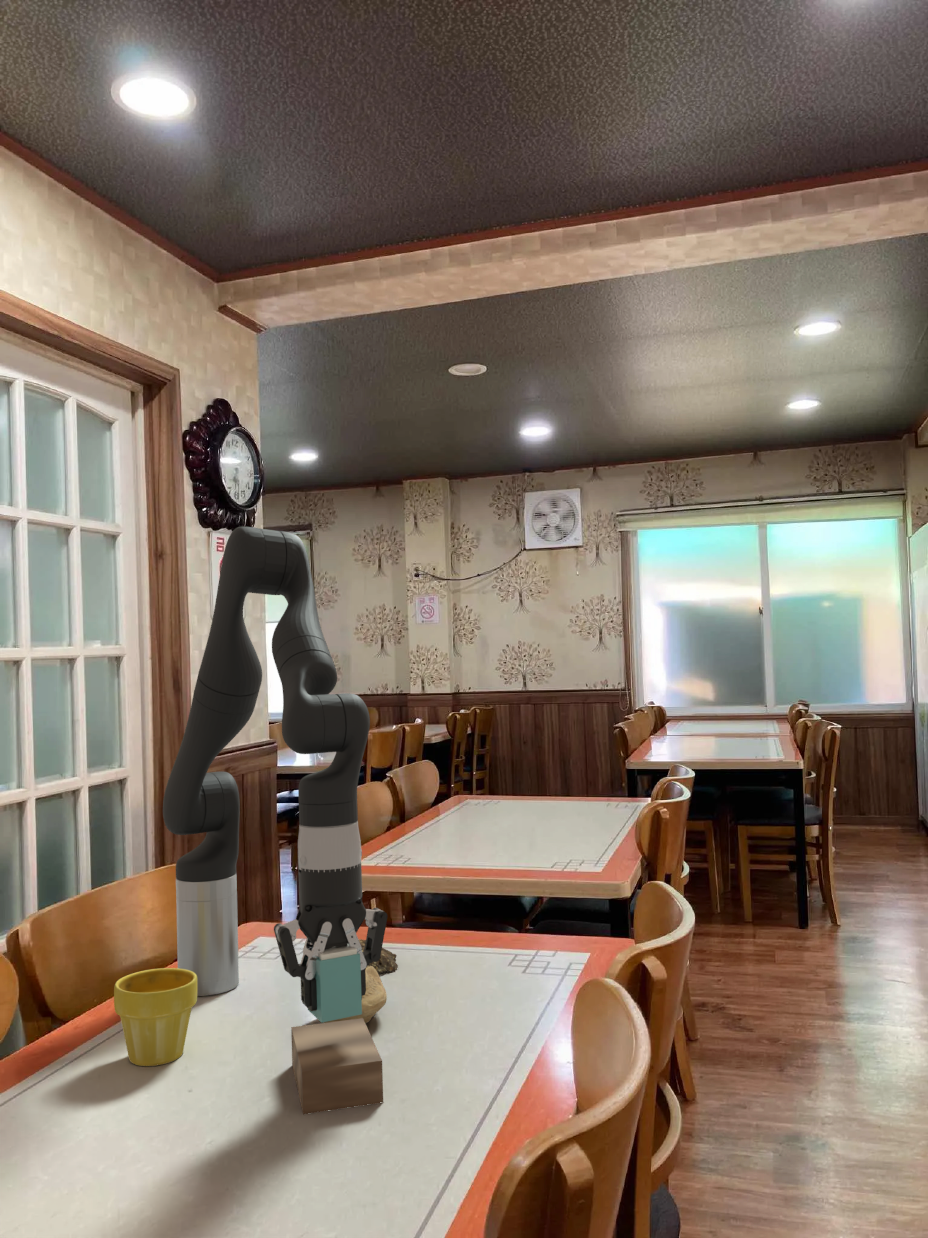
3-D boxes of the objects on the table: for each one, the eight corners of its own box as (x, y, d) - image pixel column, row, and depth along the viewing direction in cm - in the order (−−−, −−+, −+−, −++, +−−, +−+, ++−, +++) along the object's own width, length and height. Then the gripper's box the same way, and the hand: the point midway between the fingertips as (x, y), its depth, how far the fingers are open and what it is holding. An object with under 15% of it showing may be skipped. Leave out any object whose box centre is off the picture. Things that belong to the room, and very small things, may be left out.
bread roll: (305, 974, 159) (304, 943, 159) (355, 954, 169) (354, 924, 170) (364, 987, 152) (364, 954, 152) (413, 965, 162) (413, 934, 162)
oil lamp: (396, 1000, 144) (395, 945, 145) (379, 1040, 129) (377, 978, 130) (323, 1001, 145) (322, 946, 146) (297, 1040, 130) (296, 979, 131)
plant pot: (214, 1045, 129) (213, 970, 130) (166, 1077, 120) (165, 996, 120) (148, 1037, 133) (147, 964, 133) (97, 1068, 123) (95, 989, 123)
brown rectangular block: (292, 1068, 122) (291, 1027, 122) (363, 1058, 124) (362, 1018, 124) (303, 1117, 108) (302, 1071, 109) (383, 1105, 111) (382, 1060, 111)
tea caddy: (307, 1010, 118) (306, 946, 118) (346, 1002, 120) (345, 939, 120) (321, 1022, 113) (319, 956, 114) (362, 1014, 116) (360, 949, 116)
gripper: (373, 849, 124) (377, 985, 123) (262, 863, 118) (266, 1007, 117) (397, 858, 118) (401, 1002, 117) (280, 874, 111) (285, 1026, 110)
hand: (333, 1004), depth 117 cm, fingers closed on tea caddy, 5 cm apart
